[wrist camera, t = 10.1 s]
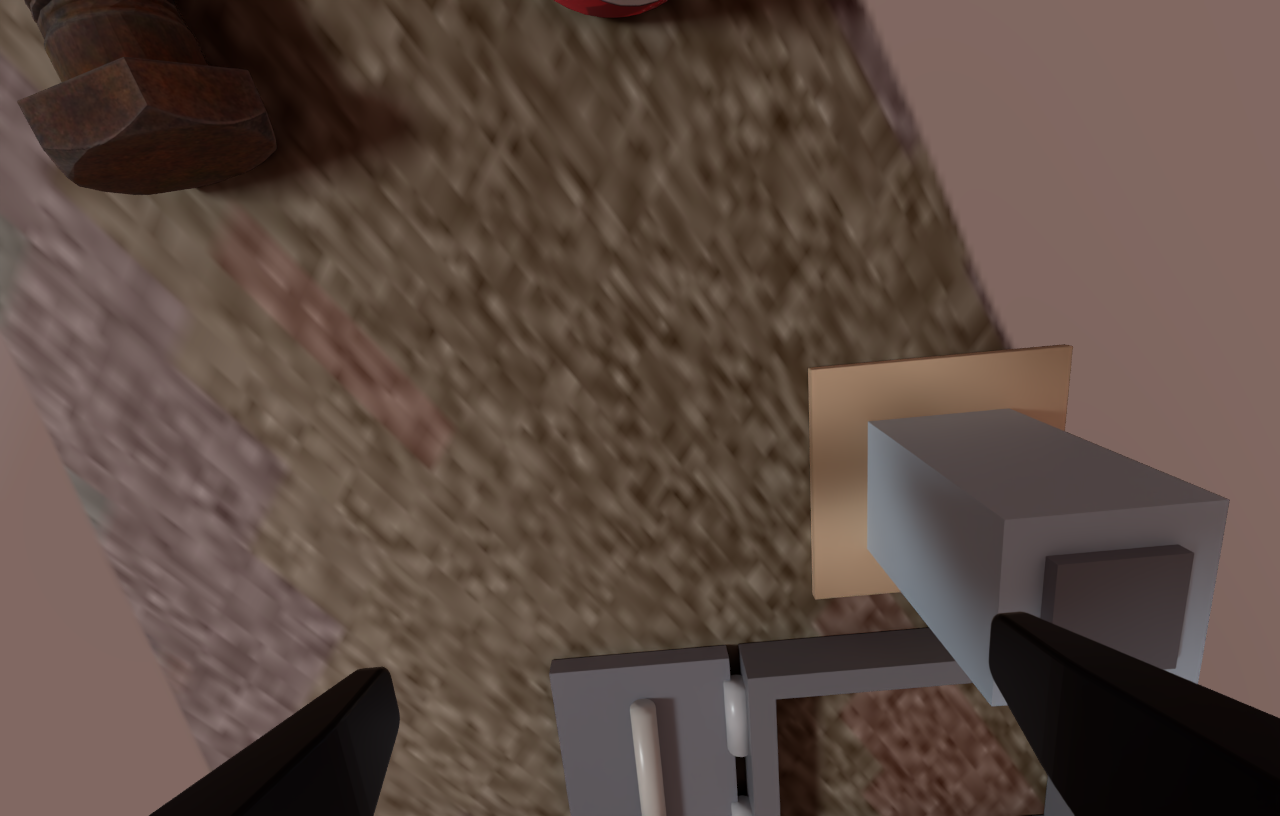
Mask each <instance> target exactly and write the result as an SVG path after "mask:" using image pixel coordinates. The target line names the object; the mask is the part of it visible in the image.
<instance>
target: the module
mask: <svg viewBox="0 0 1280 816" xmlns="http://www.w3.org/2000/svg"><path fill="white" fill-rule="evenodd" d="M1229 501H1230V500H1229V499H1227V498H1224V497H1222V496H1220V495H1217V494H1214V493H1212V492H1210V491H1207V490H1205V489H1203V488H1200V487H1198V486H1195V485H1193V484H1191V483H1188V482H1185V481H1183V480H1181V479H1179V478H1176V477H1173V476H1171V475H1169V474H1166V473H1164V472H1162V471H1159V470H1157V469H1154V468H1152V467H1150V466H1147V465H1145V464H1142V463H1140V462H1138V461H1135V460H1132V459H1130V458H1128V457H1125V456H1123V455H1121V454H1118V453H1116V452H1113V451H1111V450H1109V449H1106V448H1104V447H1101V446H1099V445H1097V444H1094V443H1092V442H1089V441H1087V440H1084V439H1082V438H1080V437H1077V436H1075V435H1072V434H1070V433H1068V432H1065V431H1063V430H1060V429H1058V428H1056V427H1053V426H1051V425H1048V424H1046V423H1043V422H1041V421H1039V420H1036V419H1034V418H1031V417H1029V416H1027V415H1024V414H1022V413H1019V412H1017V411H1015V410H1012V409H1010V408H1008V409H997V410H987V411H976V412H965V413H954V414H943V415H932V416H921V417H911V418H900V419H889V420H878V421H868V491H867V549H868V550H869V552H870V553H871V554H872V556H873V557H874V558H875V559H876V561H877V562H878V563H879V564H880V566H881V567H882V568H883V569H884V571H885V572H886V573H887V575H888V576H889V577H890V578H891V580H892V581H893V582H894V583H895V585H896V586H897V587H898V588H899V590H900V591H901V592H902V594H903V595H904V596H905V597H906V599H907V600H908V601H909V602H910V604H911V605H912V606H913V607H914V609H915V610H916V611H917V612H918V614H919V615H920V616H921V618H922V619H923V620H924V621H925V623H926V624H927V625H928V626H929V628H930V629H931V630H932V631H933V633H934V634H935V635H936V637H937V638H938V639H939V640H940V642H941V643H942V644H943V645H944V647H945V648H946V649H947V650H948V652H949V653H950V654H951V656H952V657H953V658H954V659H955V661H956V662H957V663H958V664H959V666H960V667H961V668H962V669H963V671H964V672H965V673H966V675H967V676H968V677H969V678H970V680H971V681H972V682H973V683H974V685H975V686H976V687H977V688H978V690H979V691H980V692H981V693H982V695H983V696H984V697H985V699H986V700H987V701H988V702H989V704H990V705H991V706H1002V705H1007V703H1006V701H1005V699H1004V698H1003V696H1002V694H1001V692H1000V690H999V689H998V687H997V685H996V683H995V682H994V680H993V678H992V675H991V672H990V668H989V645H990V630H991V621H992V619H993V617H994V616H995V615H996V614H998V613H1008V612H1019V611H1021V612H1026V613H1029V614H1031V615H1034V616H1036V617H1039V618H1041V619H1043V620H1046V621H1048V622H1051V623H1053V624H1055V625H1058V626H1060V627H1063V628H1065V629H1067V630H1070V631H1072V632H1075V633H1077V634H1079V635H1082V636H1084V637H1086V638H1089V639H1091V640H1094V641H1096V642H1098V643H1101V644H1103V645H1106V646H1108V647H1110V648H1113V649H1115V650H1118V651H1120V652H1122V653H1125V654H1127V655H1129V656H1132V657H1134V658H1137V659H1139V660H1141V661H1144V662H1146V663H1149V664H1151V665H1153V666H1156V667H1158V668H1161V669H1163V670H1165V671H1168V672H1170V673H1173V674H1175V675H1177V676H1180V677H1182V678H1184V679H1187V680H1189V681H1192V682H1194V683H1196V684H1198V680H1199V674H1200V668H1201V663H1202V657H1203V651H1204V645H1205V640H1206V634H1207V628H1208V622H1209V616H1210V610H1211V605H1212V599H1213V593H1214V588H1215V582H1216V576H1217V570H1218V564H1219V559H1220V553H1221V547H1222V541H1223V535H1224V529H1225V524H1226V518H1227V512H1228V507H1229Z"/></svg>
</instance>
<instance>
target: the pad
mask: <svg viewBox="0 0 1280 816" xmlns="http://www.w3.org/2000/svg"><path fill="white" fill-rule="evenodd" d="M1072 349H1073V346H1069V345H1065V344H1064V345H1053V346H1042V347H1031V348H1020V349H1009V350H998V351H987V352H976V353H965V354H954V355H944V356H933V357H922V358H911V359H900V360H889V361H878V362H867V363H856V364H845V365H834V366H823V367H812V368H808V383H809V435H810V488H811V541H812V594H813V595H814V597H815V599H825V598H836V597H848V596H859V595H871V594H882V593H894V592H901V591H900V590H899V588H898V587H897V586H896V585H895V583H894V582H893V581H892V580H891V578H890V577H889V576H888V575H887V573H886V572H885V571H884V569H883V568H882V567H881V566H880V564H879V563H878V562H877V561H876V559H875V558H874V557H873V556H872V554H871V553H870V552H869V550H868V549H867V491H868V421H878V420H889V419H900V418H911V417H921V416H932V415H943V414H954V413H965V412H976V411H987V410H997V409H1008V408H1010V409H1012V410H1015V411H1017V412H1019V413H1022V414H1024V415H1027V416H1029V417H1031V418H1034V419H1036V420H1039V421H1041V422H1043V423H1046V424H1048V425H1051V426H1053V427H1056V428H1058V429H1060V430H1063V431H1065V423H1066V413H1067V401H1068V392H1069V381H1070V371H1071V360H1072Z"/></svg>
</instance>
